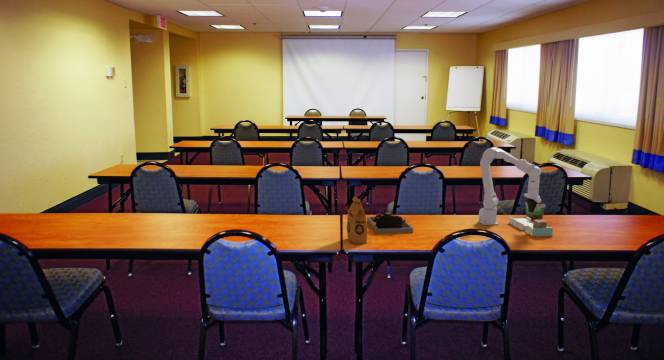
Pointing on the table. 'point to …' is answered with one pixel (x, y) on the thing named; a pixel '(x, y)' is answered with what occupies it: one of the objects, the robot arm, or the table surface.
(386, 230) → the tray
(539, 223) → the walnut block
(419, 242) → the table surface
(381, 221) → the black lump on tray
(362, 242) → the coffee package
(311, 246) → the table surface
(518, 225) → the trap runway
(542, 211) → the food container
